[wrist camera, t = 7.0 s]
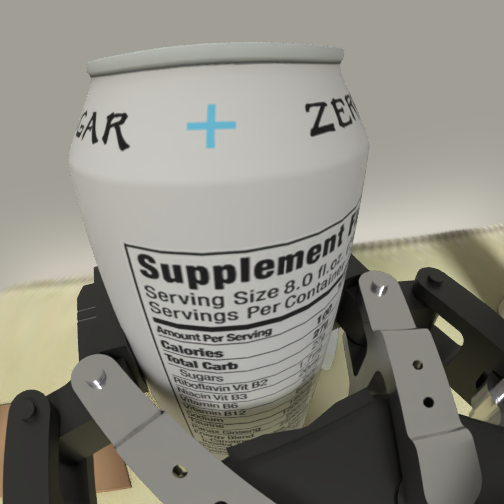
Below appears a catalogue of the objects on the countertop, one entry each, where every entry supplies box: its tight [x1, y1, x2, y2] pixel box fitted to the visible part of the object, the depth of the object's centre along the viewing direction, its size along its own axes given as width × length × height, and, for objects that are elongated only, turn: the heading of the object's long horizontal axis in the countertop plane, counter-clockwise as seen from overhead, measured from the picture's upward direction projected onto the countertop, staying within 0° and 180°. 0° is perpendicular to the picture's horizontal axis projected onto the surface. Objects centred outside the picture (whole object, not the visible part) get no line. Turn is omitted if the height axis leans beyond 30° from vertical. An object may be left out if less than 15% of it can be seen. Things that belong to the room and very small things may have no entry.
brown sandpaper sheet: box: [0, 404, 131, 497], centre depth 16 cm, size 12×8×1 cm, turn 113°
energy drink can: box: [69, 42, 369, 461], centre depth 10 cm, size 6×6×15 cm
